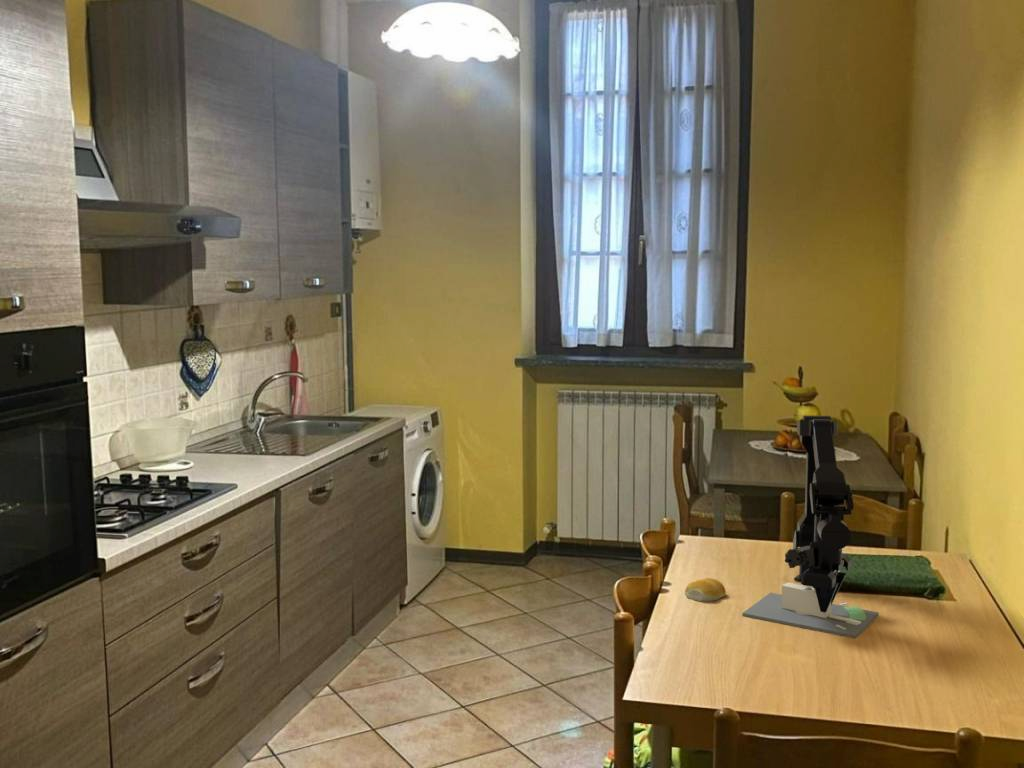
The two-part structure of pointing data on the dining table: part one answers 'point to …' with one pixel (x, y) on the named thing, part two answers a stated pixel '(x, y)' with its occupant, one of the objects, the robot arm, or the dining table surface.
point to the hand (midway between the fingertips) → (825, 609)
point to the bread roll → (705, 590)
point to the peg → (806, 602)
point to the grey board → (812, 617)
